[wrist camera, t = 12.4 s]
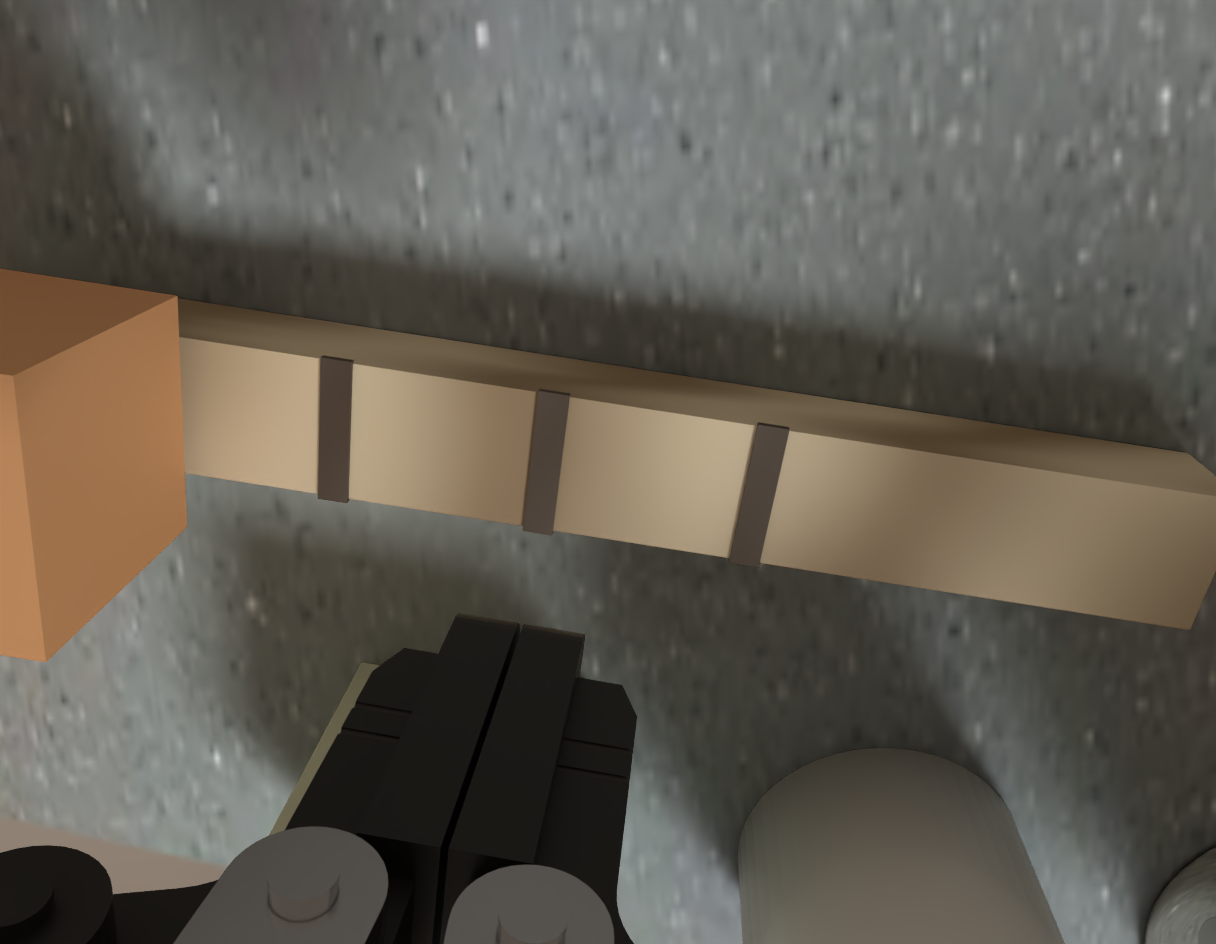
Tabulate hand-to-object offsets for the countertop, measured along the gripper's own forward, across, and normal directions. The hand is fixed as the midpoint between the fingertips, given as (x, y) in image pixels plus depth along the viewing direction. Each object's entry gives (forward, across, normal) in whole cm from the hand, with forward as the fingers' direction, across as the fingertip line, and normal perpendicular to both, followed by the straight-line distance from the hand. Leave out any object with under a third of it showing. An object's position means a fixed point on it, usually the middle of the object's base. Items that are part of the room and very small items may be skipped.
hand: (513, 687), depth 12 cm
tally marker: (+5, +8, -1) cm, 10 cm away
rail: (+7, 0, -1) cm, 7 cm away
